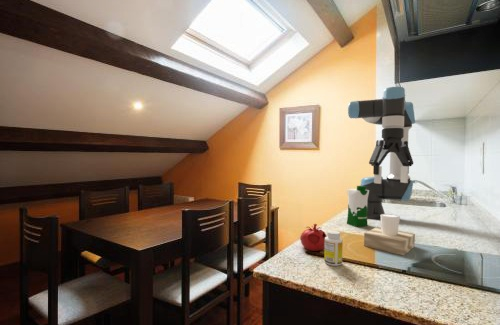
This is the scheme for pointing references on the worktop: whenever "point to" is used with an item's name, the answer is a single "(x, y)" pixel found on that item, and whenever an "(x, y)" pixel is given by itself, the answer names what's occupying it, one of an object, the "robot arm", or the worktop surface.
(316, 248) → the pomegranate
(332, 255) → the supplement bottle
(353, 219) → the milk carton
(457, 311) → the worktop surface
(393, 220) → the white cup
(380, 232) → the wooden base
